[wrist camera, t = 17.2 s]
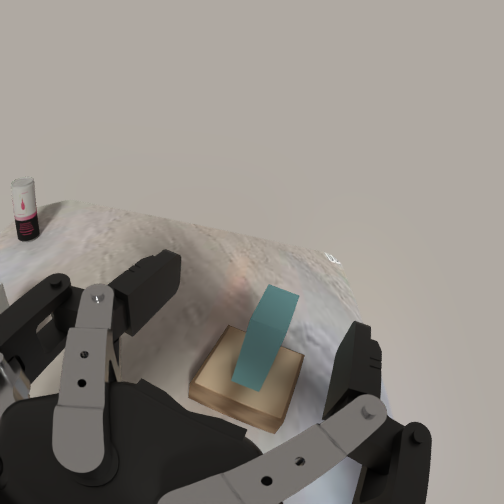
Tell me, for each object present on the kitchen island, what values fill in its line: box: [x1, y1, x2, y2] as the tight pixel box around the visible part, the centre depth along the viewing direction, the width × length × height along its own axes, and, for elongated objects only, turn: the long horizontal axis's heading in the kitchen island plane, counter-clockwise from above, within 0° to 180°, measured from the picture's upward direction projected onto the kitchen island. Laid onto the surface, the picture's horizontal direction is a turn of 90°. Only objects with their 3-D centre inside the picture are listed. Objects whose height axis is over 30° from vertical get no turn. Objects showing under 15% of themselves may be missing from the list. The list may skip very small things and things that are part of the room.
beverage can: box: [11, 177, 40, 242], centre depth 52 cm, size 6×7×15 cm
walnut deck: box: [188, 325, 305, 434], centre depth 39 cm, size 13×13×4 cm
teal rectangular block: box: [231, 285, 299, 392], centre depth 35 cm, size 4×7×12 cm, turn 160°
